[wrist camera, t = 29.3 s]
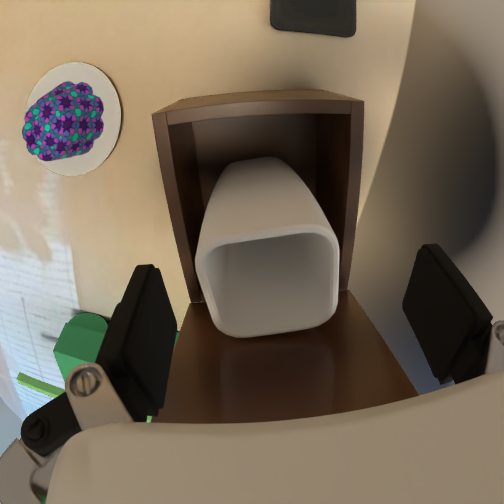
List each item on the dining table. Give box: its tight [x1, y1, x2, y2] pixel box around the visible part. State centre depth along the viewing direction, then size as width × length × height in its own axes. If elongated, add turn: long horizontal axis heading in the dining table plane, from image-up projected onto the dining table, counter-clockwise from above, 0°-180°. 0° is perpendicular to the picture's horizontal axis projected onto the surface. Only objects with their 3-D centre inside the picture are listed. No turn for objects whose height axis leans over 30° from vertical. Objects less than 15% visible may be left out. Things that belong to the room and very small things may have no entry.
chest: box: [152, 90, 364, 303], centre depth 24 cm, size 15×13×10 cm
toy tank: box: [17, 313, 179, 423], centre depth 39 cm, size 18×12×35 cm
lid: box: [150, 290, 420, 424], centre depth 17 cm, size 16×13×5 cm
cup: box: [195, 156, 339, 338], centre depth 22 cm, size 7×7×15 cm
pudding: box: [22, 62, 121, 176], centre depth 22 cm, size 12×12×5 cm
